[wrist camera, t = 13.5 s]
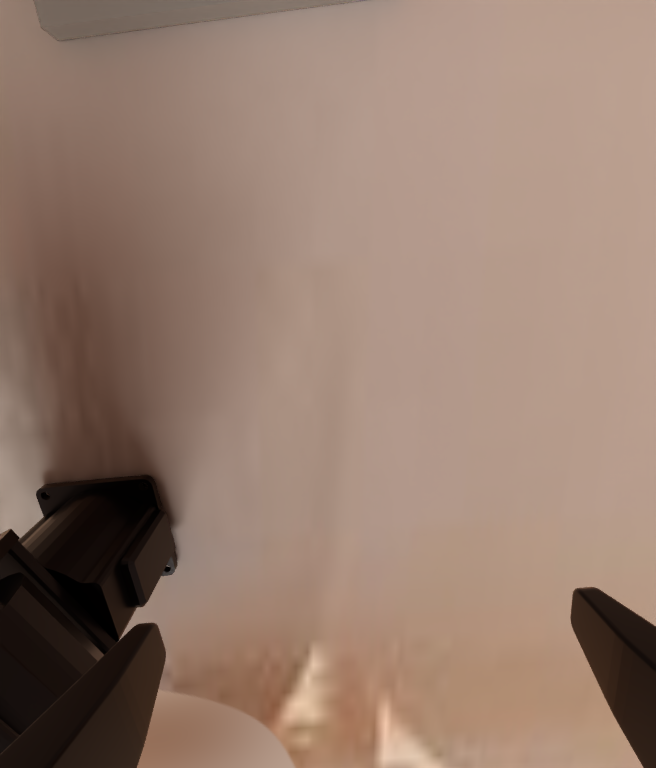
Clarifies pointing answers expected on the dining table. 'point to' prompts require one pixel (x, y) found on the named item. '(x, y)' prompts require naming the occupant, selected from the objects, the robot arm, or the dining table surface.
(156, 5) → the housing
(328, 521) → the dining table surface
